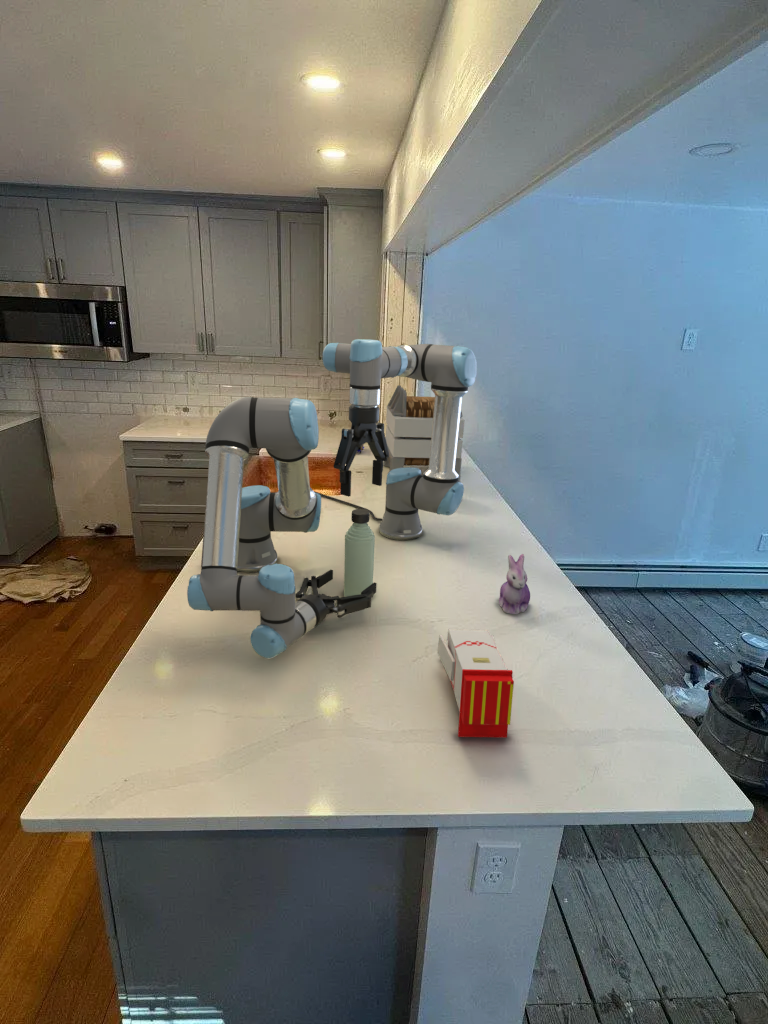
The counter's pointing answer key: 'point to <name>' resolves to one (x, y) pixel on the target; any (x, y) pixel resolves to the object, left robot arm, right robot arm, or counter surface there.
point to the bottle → (358, 559)
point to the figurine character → (360, 448)
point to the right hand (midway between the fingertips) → (361, 489)
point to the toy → (478, 682)
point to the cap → (360, 516)
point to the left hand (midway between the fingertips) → (353, 580)
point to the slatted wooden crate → (413, 431)
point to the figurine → (515, 588)
